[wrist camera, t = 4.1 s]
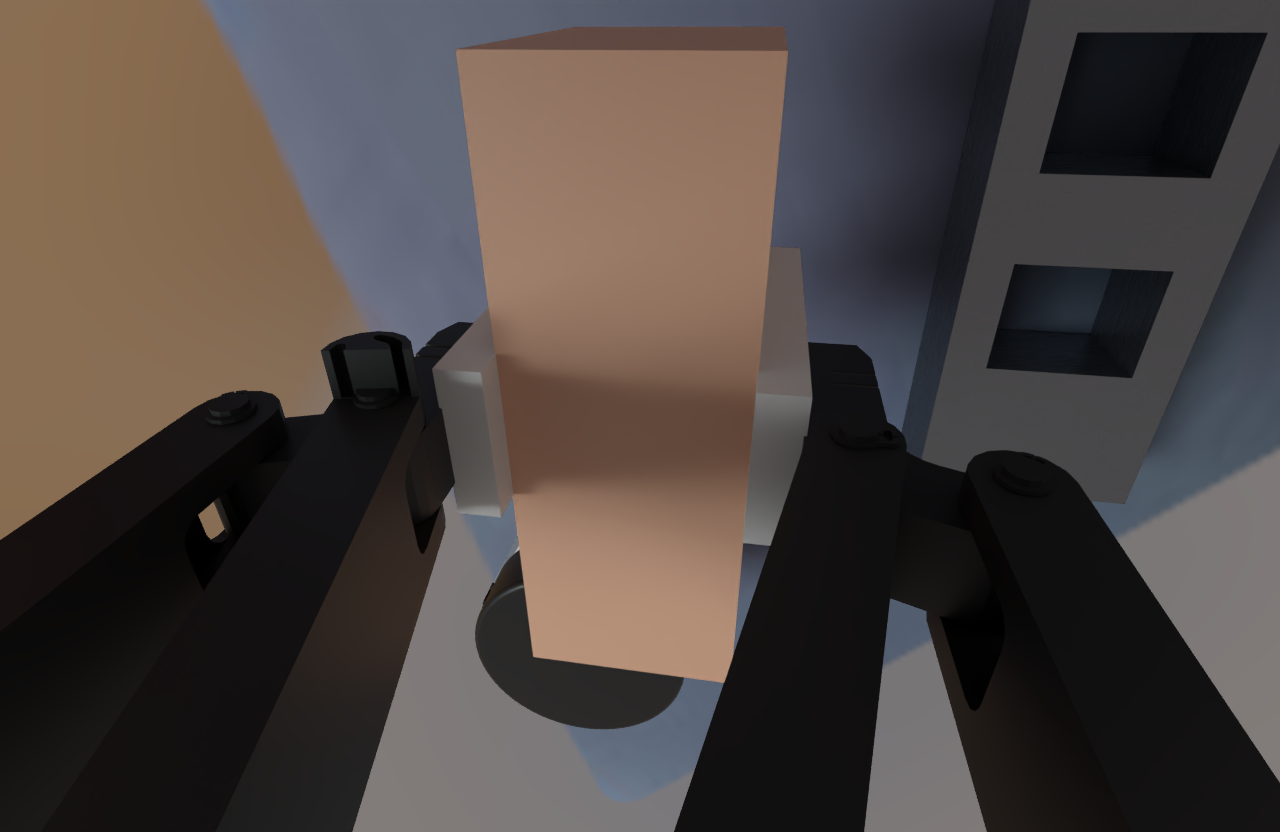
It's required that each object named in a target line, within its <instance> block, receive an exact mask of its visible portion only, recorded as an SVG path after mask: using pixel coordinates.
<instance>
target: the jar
mask: <svg viewBox="0 0 1280 832" xmlns="http://www.w3.org/2000/svg"><path fill="white" fill-rule="evenodd" d="M475 641H476V647H477V651H478V653H479V657H480V659H481V662H482V664H483V666H484V667H485V669H486V671H487V672H488V674H489V675H490V677H491V678H492V679H493V681H494V682H495V683H496V684H497V685H498V686H499V687H500V688H501V689H502V690H503V691H504V692H505V693H506V694H508V695H509V696H510V697H511V698H512V699H514V700H515V701H516V702H518V703H520V704H521V705H522V706H524V707H526V708H527V709H529V710H531V711H533V712H535V713H537V714H539V715H541V716H543V717H546V718H548V719H551V720H554V721H556V722H560V723H563V724H567V725H571V726H576V727H582V728H589V729H617V728H625V727H630V726H634V725H637V724H640V723H643V722H646V721H648V720H650V719H652V718H654V717H655V716H657V715H659V714H660V713H661V712H663V711H664V710H665V709H666V708H667V707H668V706H669V705H670V704H671V703H672V702H673V701H674V700H675V698H676V697H677V695H678V693H679V691H680V689H681V686H682V684H683V680H684V677H678V676H671V675H663V674H656V673H649V672H641V671H634V670H626V669H619V668H612V667H604V666H597V665H589V664H582V663H575V662H567V661H560V660H552V659H545V658H538V657H533V651H532V643H531V635H530V627H529V620H528V612H527V604H526V596H525V588H524V580H523V572H522V565H521V557H520V549H519V541H518V535H517V537H516V539H515V541H514V543H513V545H512V547H511V549H510V552H509V554H508V556H507V558H506V560H505V562H504V564H503V566H502V568H501V570H500V572H499V574H498V576H497V578H496V580H495V582H494V583H492V585H491V587H490V589H489V591H488V593H487V595H486V597H485V599H484V602H483V607H482V610H481V612H480V614H479V617H478V619H477V624H476V630H475Z"/></svg>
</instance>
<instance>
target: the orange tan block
mask: <svg viewBox="0 0 1280 832" xmlns="http://www.w3.org/2000/svg"><path fill="white" fill-rule="evenodd" d="M456 55H457V63H458V71H459V79H460V86H461V94H462V102H463V110H464V118H465V126H466V133H467V141H468V149H469V157H470V165H471V173H472V180H473V188H474V196H475V204H476V212H477V220H478V227H479V235H480V243H481V251H482V259H483V267H484V275H485V282H486V290H487V298H488V306H489V314H490V322H491V329H492V337H493V345H494V353H496V360H497V368H498V376H499V384H500V392H501V400H502V408H503V416H504V423H505V431H506V439H507V447H508V455H509V463H510V471H511V479H512V487H513V502H514V510H515V518H516V525H517V533H518V541H519V549H520V557H521V565H522V572H523V580H524V588H525V596H526V604H527V612H528V620H529V627H530V635H531V643H532V651H533V657H538V658H545V659H552V660H560V661H567V662H575V663H582V664H589V665H597V666H604V667H612V668H619V669H626V670H634V671H641V672H649V673H656V674H663V675H671V676H678V677H686V678H693V679H700V680H708V681H715V682H722V683H724V682H725V679H726V676H727V673H728V670H729V667H730V664H731V661H732V658H733V649H734V638H735V627H736V616H737V605H738V594H739V583H740V573H741V562H742V551H743V534H744V518H745V507H746V496H747V485H748V474H749V463H750V451H751V440H752V429H753V418H754V407H755V396H756V385H757V374H758V372H759V365H760V354H761V343H762V332H763V321H764V310H765V299H766V288H767V277H768V266H769V255H770V244H771V233H772V222H773V211H774V200H775V189H776V179H777V168H778V157H779V146H780V135H781V124H782V113H783V102H784V91H785V80H786V69H787V58H788V47H787V41H786V34H785V28H784V27H573V28H567V29H562V30H557V31H551V32H546V33H541V34H535V35H530V36H525V37H519V38H514V39H509V40H503V41H498V42H493V43H487V44H482V45H477V46H471V47H466V48H461V49H456Z"/></svg>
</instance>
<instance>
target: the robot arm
mask: <svg viewBox="0 0 1280 832" xmlns="http://www.w3.org/2000/svg"><path fill="white" fill-rule="evenodd" d="M321 353H322V357H323V361H324V365H325V368H326V372H327V375H328V379H329V383H330V387H331V391H332V394H333V398H334V399H333V401H332V402H331V404H330V405H329V407H328V408H327V409H326V411H325V413H324V414H321V415H310V416H300V417H288V418H285V416H284V413H283V410H282V406H281V403H280V400H279V399H278V398H277V397H276V396H275V395H273V394H270V393H267V392H263V391H246V390H243V391H236V393H234V392H229V393H225V394H222V395H221V396H220V397H217V398H214V399H211V400H208V401H206V402H204V403H203V404H201V405H199V406H197V407H195V408H193V409H192V410H191V411H189V412H188V413H186V414H185V415H183V416H182V417H180V418H179V419H177V420H176V421H174V422H173V423H171V424H170V425H168V426H167V427H166V428H164V429H163V430H161V431H160V432H158V433H157V434H155V435H154V436H152V437H151V438H149V439H148V440H147V441H145V442H144V443H142V444H141V445H139V446H138V447H136V448H135V449H133V450H132V451H130V452H129V453H127V454H126V455H124V456H123V457H122V458H120V459H119V460H117V461H116V462H114V463H113V464H111V465H110V466H108V467H107V468H105V469H104V470H102V471H101V472H100V473H98V474H97V475H95V476H94V477H92V478H91V479H89V480H88V481H86V482H85V483H83V484H82V485H80V486H79V487H78V488H76V489H75V490H73V491H72V492H70V493H69V494H67V495H66V496H64V497H63V498H61V499H60V500H58V501H57V502H55V503H54V504H53V505H51V506H50V507H48V508H47V509H46V510H44V511H42V512H41V513H39V514H38V515H36V516H35V517H33V518H32V519H31V520H29V521H28V522H26V523H25V524H23V525H22V526H20V527H19V528H17V529H16V530H14V531H13V532H12V533H10V534H9V535H7V536H6V537H4V538H3V539H1V540H0V832H352V831H353V827H354V824H355V821H356V817H357V814H358V811H359V808H360V805H361V801H362V798H363V795H364V791H365V788H366V785H367V781H368V779H369V775H370V772H371V769H372V765H373V762H374V759H375V756H376V752H377V749H378V746H379V743H380V739H381V736H382V733H383V730H384V726H385V723H386V720H387V717H388V713H389V710H390V707H391V703H392V700H393V697H394V693H395V690H396V687H397V684H398V681H399V677H400V674H401V671H402V668H403V664H404V661H405V658H406V655H407V651H408V648H409V645H410V641H411V638H412V635H413V632H414V628H415V625H416V622H417V619H418V615H419V612H420V609H421V605H422V602H423V599H424V596H425V593H426V589H427V586H428V583H429V579H430V576H431V573H432V570H433V566H434V563H435V560H436V556H437V553H438V550H439V547H440V544H441V540H442V537H443V534H444V530H445V514H444V509H443V504H442V502H443V501H444V499H445V498H446V496H447V494H448V493H449V491H450V490H451V488H452V487H454V493H455V498H456V504H457V509H458V513H464V514H473V515H483V516H492V517H502V515H503V513H504V511H505V509H506V507H507V505H508V503H509V502H510V500H511V498H512V496H513V487H512V479H511V471H510V463H509V455H508V447H507V439H506V431H505V423H504V416H503V408H502V400H501V392H500V384H499V376H498V368H497V360H496V353H494V345H493V337H492V329H491V322H490V314H489V307H488V308H487V309H486V310H485V311H484V312H483V314H482V315H481V316H480V317H479V318H478V319H477V320H476V321H475V322H474V323H466V322H457V323H455V324H453V325H451V326H449V327H447V328H445V329H443V330H441V331H439V332H437V333H436V335H435V336H434V337H433V338H432V339H431V340H430V341H429V342H428V343H427V344H426V347H423V348H422V349H421V350H420V351H419V352H418V353H417V354H416V357H414V355H413V350H412V345H411V341H410V340H409V339H408V338H407V337H406V336H404V335H401V334H397V333H394V332H381V331H376V332H366V333H359V334H355V335H351V336H347V337H343V338H341V339H339V340H336V341H334V342H332V343H330V344H329V345H328V346H326V347H325V348H324V349H322V350H321ZM906 450H907V444H906V440H905V436H904V435H903V434H902V433H901V432H900V431H899V430H898V429H897V428H896V427H895V426H893V425H892V424H890V423H888V422H887V419H886V415H885V411H884V407H883V403H882V399H881V395H880V391H879V388H878V383H877V379H876V376H875V371H874V367H873V363H872V359H871V358H870V357H869V356H868V355H867V354H866V353H864V352H863V351H862V350H861V349H860V348H859V347H858V346H857V345H843V344H827V343H811V342H808V338H807V326H806V314H805V302H804V290H803V278H802V265H801V253H800V248H787V247H770V255H769V266H768V277H767V288H766V299H765V310H764V321H763V332H762V343H761V354H760V365H759V372H758V374H757V385H756V396H755V407H754V418H753V429H752V440H751V451H750V463H749V474H748V485H747V496H746V507H745V518H744V534H743V543H748V544H758V545H767V546H770V548H769V551H768V554H767V557H766V560H765V563H764V566H763V569H762V572H761V575H760V578H759V581H758V584H757V587H756V590H755V593H754V596H753V598H752V601H751V604H750V607H749V610H748V613H747V616H746V619H745V622H744V625H743V628H742V631H741V634H740V637H739V640H738V643H737V646H736V649H735V652H734V655H733V658H732V661H731V664H730V667H729V670H728V673H727V676H726V679H725V682H724V685H723V688H722V691H721V694H720V697H719V700H718V703H717V705H716V708H715V711H714V714H713V717H712V720H711V723H710V726H709V729H708V732H707V735H706V738H705V741H704V744H703V747H702V750H701V753H700V756H699V759H698V762H697V765H696V768H695V771H694V774H693V777H692V780H691V783H690V786H689V789H688V792H687V795H686V798H685V801H684V804H683V807H682V810H681V813H680V816H679V819H678V821H677V825H676V828H675V830H674V832H864V827H865V819H866V810H867V801H868V791H869V782H870V773H871V765H872V756H873V746H874V737H875V729H876V720H877V710H878V701H879V692H880V684H881V674H882V666H883V657H884V648H885V639H886V630H887V621H888V612H889V603H890V598H891V599H894V600H897V601H900V602H902V603H905V604H908V605H911V606H914V607H916V608H919V609H922V610H925V611H927V623H928V626H929V630H930V633H931V637H932V641H933V644H934V648H935V651H936V655H937V658H938V661H939V665H940V669H941V672H942V676H943V679H944V683H945V686H946V689H947V693H948V697H949V700H950V704H951V707H952V711H953V714H954V718H955V721H956V725H957V728H958V732H959V735H960V739H961V742H962V746H963V750H964V753H965V757H966V760H967V763H968V767H969V771H970V774H971V778H972V781H973V785H974V788H975V792H976V795H977V799H978V802H979V805H980V809H981V813H982V816H983V820H984V823H985V827H986V830H987V832H1280V783H1279V781H1278V779H1277V778H1276V776H1275V775H1274V773H1273V772H1272V771H1271V769H1270V768H1269V766H1268V765H1267V763H1266V762H1265V760H1264V759H1263V757H1262V756H1261V754H1260V753H1259V751H1258V750H1257V748H1256V747H1255V745H1254V744H1253V742H1252V741H1251V739H1250V738H1249V736H1248V735H1247V733H1246V732H1245V731H1244V729H1243V727H1242V726H1241V724H1240V723H1239V721H1238V720H1237V718H1236V717H1235V715H1234V714H1233V713H1232V711H1231V709H1230V708H1229V707H1228V705H1227V704H1226V702H1225V700H1224V699H1223V698H1222V696H1221V695H1220V693H1219V692H1218V690H1217V689H1216V687H1215V686H1214V684H1213V683H1212V681H1211V680H1210V678H1209V677H1208V675H1207V674H1206V672H1205V671H1204V669H1203V668H1202V666H1201V665H1200V663H1199V662H1198V660H1197V659H1196V657H1195V656H1194V654H1193V653H1192V651H1191V650H1190V648H1189V647H1188V645H1187V644H1186V643H1185V641H1184V639H1183V638H1182V637H1181V635H1180V633H1179V632H1178V630H1177V629H1176V627H1175V626H1174V624H1173V623H1172V622H1171V620H1170V619H1169V617H1168V616H1167V614H1166V613H1165V611H1164V610H1163V608H1162V607H1161V605H1160V604H1159V602H1158V601H1157V599H1156V598H1155V597H1154V595H1153V593H1152V592H1151V590H1150V589H1149V587H1148V586H1147V584H1146V583H1145V581H1144V580H1143V578H1142V577H1141V575H1140V574H1139V573H1138V571H1137V569H1136V568H1135V566H1134V565H1133V563H1132V562H1131V560H1130V559H1129V557H1128V556H1127V555H1126V553H1125V551H1124V550H1123V548H1122V547H1121V546H1120V544H1119V543H1118V541H1117V540H1116V538H1115V537H1114V535H1113V534H1112V532H1111V531H1110V529H1109V528H1108V526H1107V525H1106V523H1105V522H1104V520H1103V519H1102V517H1101V516H1100V514H1099V513H1098V511H1097V510H1096V508H1095V507H1094V505H1093V504H1092V502H1091V501H1090V499H1089V498H1088V496H1087V495H1086V493H1085V492H1084V490H1083V489H1082V487H1081V486H1080V484H1079V483H1078V482H1077V481H1076V480H1075V479H1074V478H1073V477H1072V476H1071V475H1070V474H1069V473H1068V472H1067V471H1066V470H1064V469H1062V468H1061V467H1059V466H1057V465H1056V464H1054V463H1052V462H1050V461H1049V460H1047V459H1045V458H1042V457H1040V456H1034V454H1030V453H1026V452H1016V451H1010V450H996V451H987V452H984V453H981V454H978V455H975V456H974V457H973V458H972V460H971V461H970V462H969V463H968V465H967V469H966V472H962V471H958V470H954V469H950V468H947V467H943V466H939V465H936V464H933V463H930V462H927V461H924V460H922V459H920V458H918V457H916V456H914V455H912V454H910V453H909V452H907V451H906ZM212 502H214V504H215V506H216V509H217V511H218V514H219V516H220V519H221V521H222V524H223V526H224V528H225V529H224V530H223V531H222V532H221V533H220V534H219V535H218V536H216V537H215V538H213V539H211V540H210V538H209V537H208V536H207V535H206V533H205V530H204V528H203V526H202V523H201V521H200V519H199V516H198V514H200V513H201V512H202V511H203V510H204V509H205V508H207V507H208V506H209V505H210V504H211V503H212Z"/></svg>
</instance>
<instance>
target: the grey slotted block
mask: <svg viewBox="0 0 1280 832" xmlns="http://www.w3.org/2000/svg"><path fill="white" fill-rule="evenodd" d="M1078 32H1195V35H1194V37H1193V40H1192V43H1191V46H1190V49H1189V52H1188V55H1187V58H1186V60H1185V63H1184V66H1183V69H1182V72H1181V75H1180V78H1179V81H1178V84H1177V86H1176V89H1175V92H1174V95H1173V98H1172V101H1171V104H1170V107H1169V109H1168V112H1167V115H1166V118H1165V121H1164V124H1163V127H1162V130H1161V133H1160V135H1159V138H1158V141H1157V144H1156V147H1155V150H1154V153H1153V155H1117V154H1076V153H1045V150H1046V147H1047V143H1048V139H1049V136H1050V132H1051V128H1052V125H1053V121H1054V117H1055V114H1056V110H1057V106H1058V103H1059V99H1060V95H1061V92H1062V88H1063V84H1064V81H1065V77H1066V73H1067V70H1068V66H1069V62H1070V59H1071V55H1072V51H1073V48H1074V44H1075V40H1076V37H1077V33H1078ZM1279 145H1280V0H995V4H994V8H993V13H992V17H991V22H990V27H989V31H988V36H987V41H986V45H985V50H984V54H983V59H982V64H981V68H980V73H979V77H978V82H977V87H976V91H975V96H974V101H973V105H972V110H971V114H970V119H969V124H968V128H967V133H966V138H965V142H964V147H963V151H962V156H961V161H960V165H959V170H958V175H957V179H956V184H955V188H954V193H953V198H952V202H951V207H950V211H949V216H948V221H947V225H946V230H945V235H944V239H943V244H942V248H941V253H940V258H939V262H938V267H937V272H936V276H935V281H934V285H933V290H932V295H931V299H930V304H929V309H928V313H927V318H926V322H925V327H924V332H923V336H922V341H921V345H920V350H919V355H918V359H917V364H916V369H915V373H914V378H913V382H912V387H911V392H910V396H909V401H908V406H907V410H906V415H905V419H904V424H903V429H902V434H903V435H904V436H905V440H906V444H907V450H906V451H907V452H909V453H910V454H912V455H914V456H916V457H918V458H920V459H922V460H924V461H927V462H930V463H933V464H936V465H939V466H943V467H947V468H950V469H954V470H958V471H962V472H966V469H967V465H968V463H969V462H970V461H971V460H972V458H973V457H974V456H975V455H978V454H981V453H984V452H987V451H996V450H1010V451H1016V452H1026V453H1030V454H1034V456H1040V457H1042V458H1045V459H1047V460H1049V461H1050V462H1052V463H1054V464H1056V465H1057V466H1059V467H1061V468H1062V469H1064V470H1066V471H1067V472H1068V473H1069V474H1070V475H1071V476H1072V477H1073V478H1074V479H1075V480H1076V481H1077V482H1078V483H1079V484H1080V486H1081V487H1082V489H1083V490H1084V492H1085V493H1086V495H1087V496H1088V498H1089V499H1090V501H1099V502H1109V503H1120V504H1125V502H1126V500H1127V498H1128V495H1129V493H1130V491H1131V488H1132V486H1133V484H1134V481H1135V479H1136V477H1137V474H1138V472H1139V470H1140V467H1141V465H1142V463H1143V460H1144V458H1145V456H1146V453H1147V451H1148V449H1149V447H1150V444H1151V442H1152V440H1153V437H1154V435H1155V433H1156V430H1157V428H1158V426H1159V423H1160V421H1161V419H1162V416H1163V414H1164V412H1165V409H1166V407H1167V405H1168V402H1169V400H1170V398H1171V395H1172V393H1173V391H1174V389H1175V386H1176V384H1177V382H1178V379H1179V377H1180V375H1181V372H1182V370H1183V368H1184V365H1185V363H1186V361H1187V358H1188V356H1189V354H1190V351H1191V349H1192V347H1193V344H1194V342H1195V340H1196V337H1197V335H1198V333H1199V331H1200V328H1201V326H1202V324H1203V321H1204V319H1205V317H1206V314H1207V312H1208V310H1209V307H1210V305H1211V303H1212V300H1213V298H1214V296H1215V293H1216V291H1217V289H1218V286H1219V284H1220V282H1221V279H1222V277H1223V275H1224V272H1225V270H1226V268H1227V266H1228V263H1229V261H1230V259H1231V256H1232V254H1233V252H1234V249H1235V247H1236V245H1237V242H1238V240H1239V238H1240V235H1241V233H1242V231H1243V228H1244V226H1245V224H1246V221H1247V219H1248V217H1249V214H1250V212H1251V210H1252V208H1253V205H1254V203H1255V201H1256V198H1257V196H1258V194H1259V191H1260V189H1261V187H1262V184H1263V182H1264V180H1265V177H1266V175H1267V173H1268V170H1269V168H1270V166H1271V163H1272V161H1273V159H1274V156H1275V154H1276V152H1277V149H1278V147H1279ZM1014 264H1024V265H1045V266H1066V267H1088V268H1109V269H1113V271H1112V274H1111V277H1110V279H1109V282H1108V285H1107V288H1106V291H1105V294H1104V297H1103V300H1102V302H1101V305H1100V308H1099V311H1098V314H1097V317H1096V320H1095V323H1094V326H1093V328H1092V331H1091V334H1076V333H1059V332H1043V331H1026V330H1009V329H997V326H998V323H999V319H1000V315H1001V312H1002V308H1003V304H1004V301H1005V297H1006V293H1007V290H1008V286H1009V282H1010V279H1011V275H1012V271H1013V268H1014Z"/></svg>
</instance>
